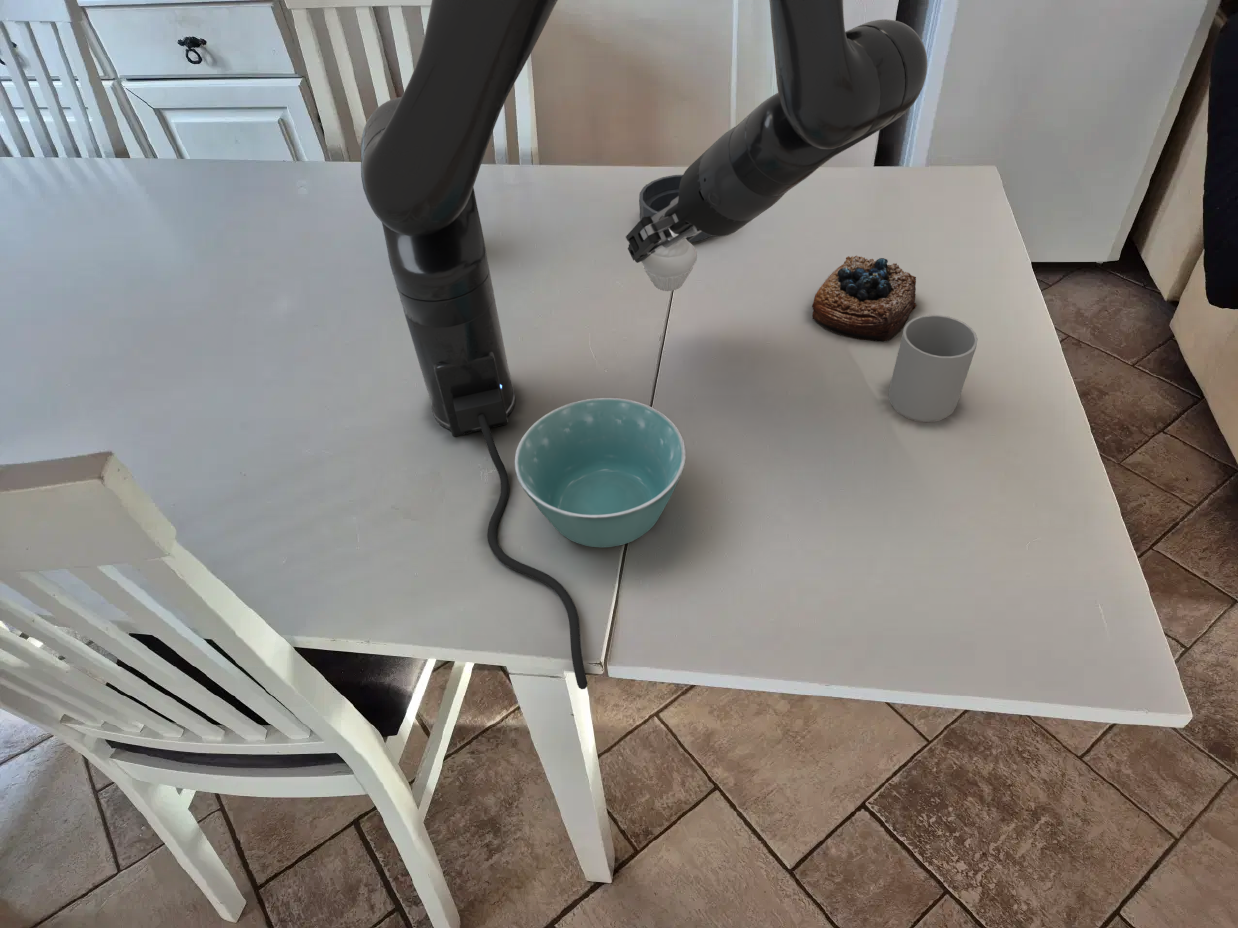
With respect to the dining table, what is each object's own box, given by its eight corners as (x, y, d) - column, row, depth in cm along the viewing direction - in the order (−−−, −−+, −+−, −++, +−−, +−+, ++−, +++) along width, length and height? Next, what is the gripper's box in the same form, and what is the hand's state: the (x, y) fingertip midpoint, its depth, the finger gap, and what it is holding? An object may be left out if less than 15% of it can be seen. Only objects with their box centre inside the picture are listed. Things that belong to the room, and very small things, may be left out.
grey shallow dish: (736, 236, 114) (737, 207, 111) (655, 253, 112) (654, 223, 109) (706, 197, 122) (707, 168, 119) (630, 212, 120) (629, 183, 117)
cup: (879, 412, 88) (895, 347, 82) (903, 359, 94) (919, 294, 87) (947, 431, 85) (969, 365, 79) (967, 375, 91) (989, 310, 85)
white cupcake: (637, 297, 89) (635, 240, 84) (645, 267, 94) (643, 211, 89) (693, 300, 88) (694, 243, 83) (698, 270, 93) (700, 213, 88)
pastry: (923, 299, 102) (934, 258, 97) (888, 351, 95) (898, 310, 91) (840, 275, 106) (847, 235, 102) (801, 323, 100) (806, 283, 95)
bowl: (508, 480, 84) (495, 422, 78) (649, 437, 87) (646, 378, 81) (553, 597, 74) (542, 540, 68) (711, 543, 77) (714, 484, 71)
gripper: (777, 118, 76) (694, 191, 91) (655, 165, 70) (589, 234, 86) (811, 192, 77) (723, 252, 92) (693, 244, 71) (620, 298, 87)
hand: (658, 243), depth 89 cm, fingers closed on white cupcake, 6 cm apart
